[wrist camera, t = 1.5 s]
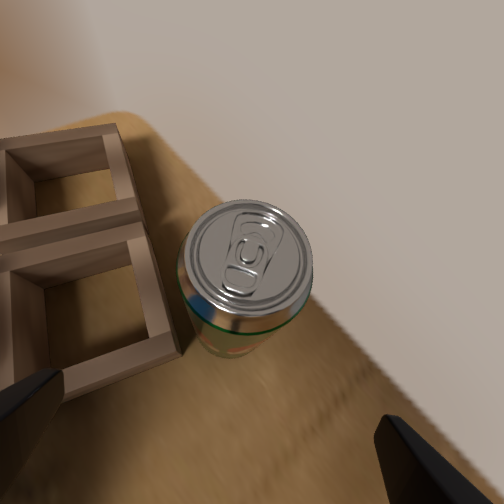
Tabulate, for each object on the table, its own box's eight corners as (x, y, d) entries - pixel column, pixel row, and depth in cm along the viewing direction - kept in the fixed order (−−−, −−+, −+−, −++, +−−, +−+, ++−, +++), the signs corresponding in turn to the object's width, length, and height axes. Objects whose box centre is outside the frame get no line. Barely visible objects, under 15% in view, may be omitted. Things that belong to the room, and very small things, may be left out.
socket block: (182, 356, 18) (169, 345, 13) (1, 426, 15) (-115, 452, 10) (127, 155, 25) (104, 93, 20) (-4, 177, 22) (-74, 113, 17)
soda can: (271, 301, 21) (334, 216, 10) (252, 369, 18) (308, 354, 8) (210, 280, 21) (206, 173, 10) (183, 345, 18) (141, 297, 8)
